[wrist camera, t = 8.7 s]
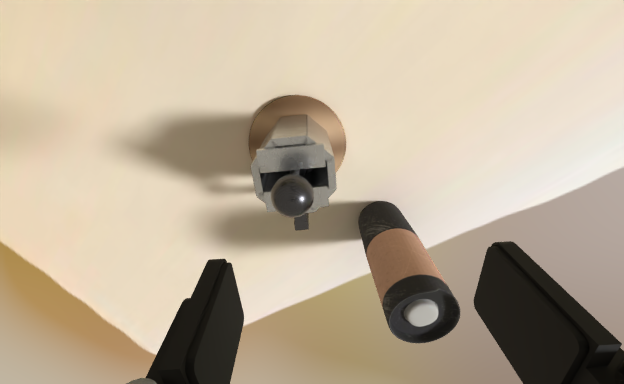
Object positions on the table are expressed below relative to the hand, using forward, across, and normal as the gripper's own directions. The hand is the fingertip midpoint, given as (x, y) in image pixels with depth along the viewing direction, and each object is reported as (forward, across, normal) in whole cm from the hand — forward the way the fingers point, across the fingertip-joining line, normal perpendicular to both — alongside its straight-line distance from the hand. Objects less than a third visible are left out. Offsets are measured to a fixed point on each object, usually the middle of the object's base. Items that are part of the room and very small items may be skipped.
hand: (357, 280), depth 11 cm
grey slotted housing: (+32, +3, +6) cm, 33 cm away
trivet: (+33, +4, +5) cm, 33 cm away
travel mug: (+32, -9, +18) cm, 38 cm away
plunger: (+29, +4, +5) cm, 30 cm away
